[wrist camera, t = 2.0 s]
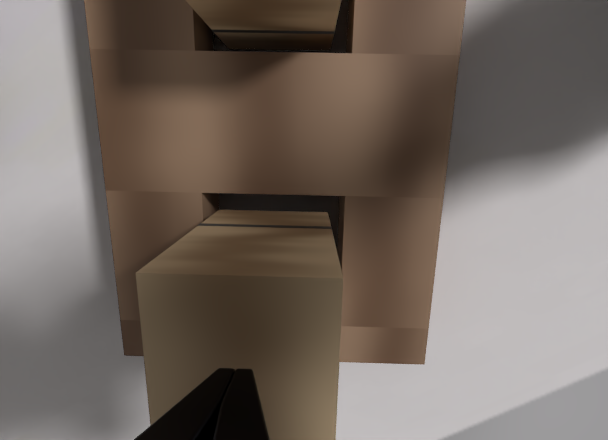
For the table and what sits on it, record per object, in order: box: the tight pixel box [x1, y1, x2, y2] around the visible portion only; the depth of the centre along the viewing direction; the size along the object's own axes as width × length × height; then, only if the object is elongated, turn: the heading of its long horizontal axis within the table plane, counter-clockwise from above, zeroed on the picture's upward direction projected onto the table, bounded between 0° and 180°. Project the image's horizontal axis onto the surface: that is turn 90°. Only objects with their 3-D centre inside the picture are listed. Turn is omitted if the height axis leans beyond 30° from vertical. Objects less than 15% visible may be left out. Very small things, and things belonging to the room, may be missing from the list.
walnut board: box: [84, 0, 466, 364], centre depth 14 cm, size 16×24×8 cm, turn 179°
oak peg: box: [136, 210, 343, 440], centre depth 13 cm, size 5×5×8 cm
